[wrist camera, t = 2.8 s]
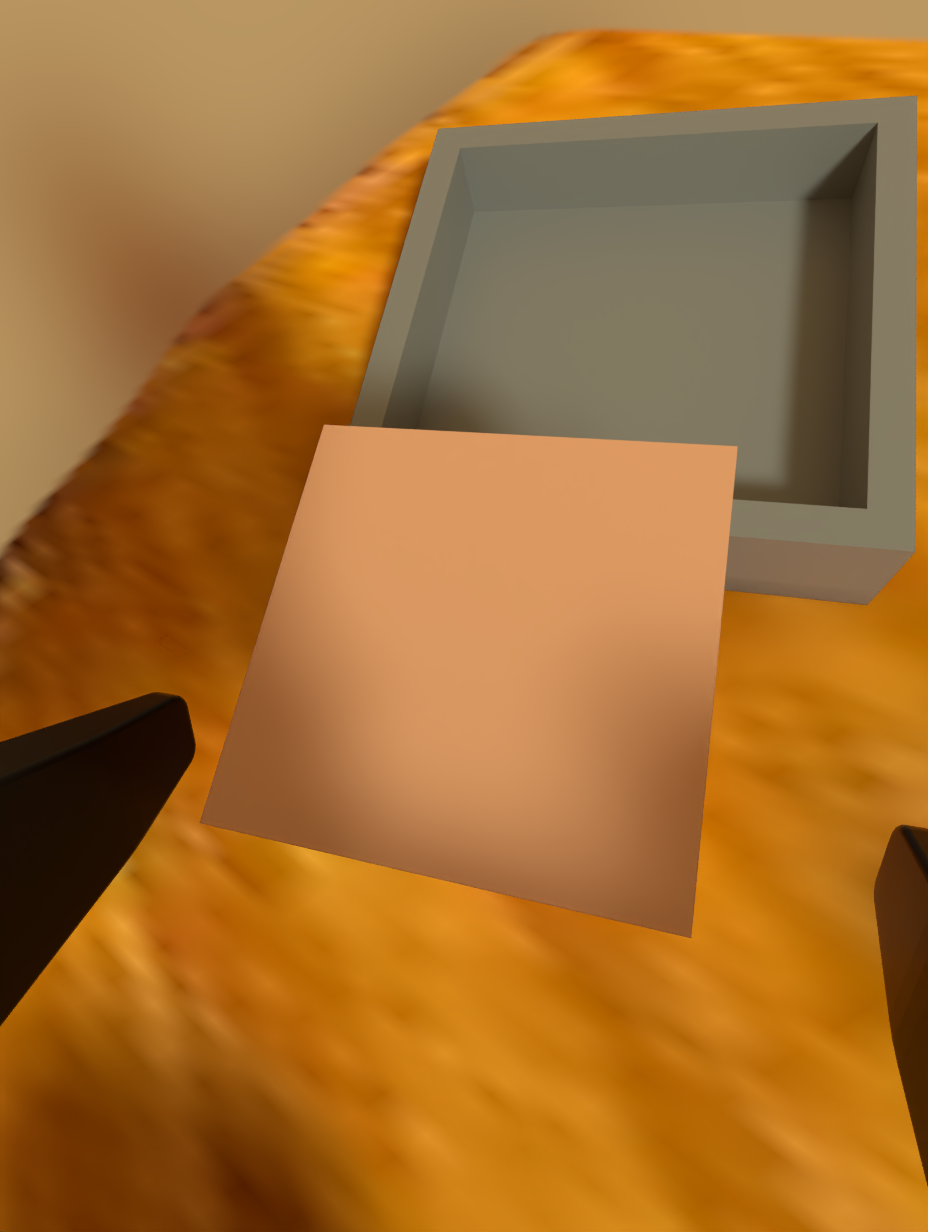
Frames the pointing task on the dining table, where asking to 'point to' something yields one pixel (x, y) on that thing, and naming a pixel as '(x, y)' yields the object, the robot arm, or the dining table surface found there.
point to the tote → (683, 313)
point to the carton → (493, 666)
